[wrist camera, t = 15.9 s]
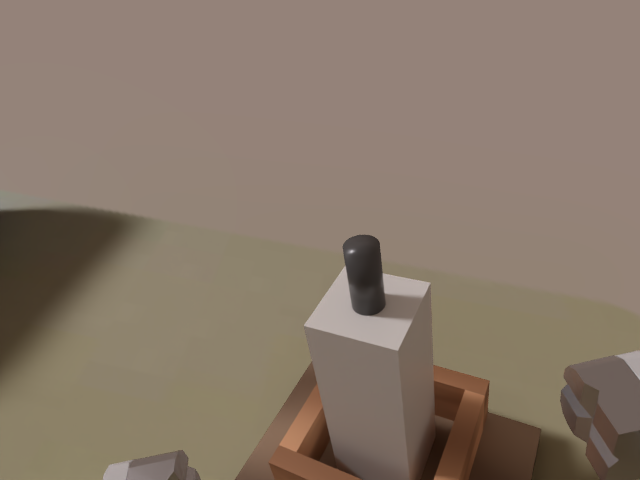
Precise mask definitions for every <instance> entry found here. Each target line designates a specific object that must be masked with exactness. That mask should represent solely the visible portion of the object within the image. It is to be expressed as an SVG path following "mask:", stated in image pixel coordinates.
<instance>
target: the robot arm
mask: <svg viewBox="0 0 640 480" xmlns="http://www.w3.org/2000/svg"><path fill="white" fill-rule="evenodd" d="M564 379H565V380H566V382H567V385H566V386H565V387H564V388H563V389H562V390H561V399H560V402H561V406H562V411H563V414H564V417H565V419H566V421H567V424H568V425H569V427H570V429H571V431H572V432H573V434H574V435H575V436H577V437H578V438H580V439H582V440H583V441H585V442H586V443H587V447H586V454H585V455H586V456H587V458H588V460H589V461H590V463H591V465H592V466H593V468H594V470H595V471H596V473H597V475H598V476H599V478H600V480H637V479H640V351H633V352H629V353H624V354H620V355H616V356H614V355H613V356H608V357H604V358H600V359H596V360H591V361H587V362H583V363H579V364H574V365H570V366H568V367H567V368H566V369H565V371H564ZM103 480H201V479H200V476H199V474H198V473H197V471H196V469H194V468H191V467H189V466H188V457H187V455H186V454H185V453H184V451H183V450H179V451H174V452H169V453H164V454H160V455H155V456H150V457H145V458H140V459H134V460H129V461H125V462H120V463H116V464H111V465H109V467H108V468H107V470H106V472H105V474H104V476H103Z"/></svg>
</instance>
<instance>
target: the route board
mask: <svg viewBox="0 0 640 480" xmlns="http://www.w3.org/2000/svg"><path fill="white" fill-rule="evenodd" d="M433 372H434V403H435V433H436V436H435V439H434V442H433V445H432V448H431V451H430V454H429V456H428V459H427V462H426V465H425V468H424V471H423V473H422V476H421V479H420V480H531V478H532V473H533V468H534V463H535V458H536V453H537V448H538V443H539V438H540V432H541V429H540V428H537V427H534V426H531V425H527V424H524V423H521V422H518V421H515V420H511V419H508V418H505V417H502V416H498V415H495V414H492V413H489V412H488V396H489V381H488V380H485V379H481V378H478V377H474V376H471V375H467V374H463V373H460V372H456V371H453V370H449V369H446V368H442V367H439V366H435V365H433ZM235 480H362V479H360V478H357V477H355V476H352V475H350V474H348V473H345V472H343V471H340V470H338V469H337V465H336V461H335V457H334V452H333V448H332V444H331V439H330V435H329V431H328V427H327V422H326V418H325V414H324V410H323V405H322V401H321V397H320V393H319V388H318V384H317V380H316V376H315V371H314V367H313V363H312V362H311V364H310V365H309V367H308V368H307V370H306V371H305V373H304V374H303V376H302V377H301V379H300V380H299V382H298V383H297V385H296V387H295V388H294V390H293V391H292V393H291V394H290V396H289V397H288V399H287V400H286V402H285V403H284V405H283V407H282V408H281V410H280V411H279V413H278V414H277V416H276V417H275V419H274V420H273V422H272V423H271V425H270V426H269V428H268V430H267V431H266V433H265V434H264V436H263V437H262V439H261V440H260V442H259V443H258V445H257V446H256V448H255V449H254V451H253V453H252V454H251V456H250V457H249V459H248V460H247V462H246V463H245V465H244V466H243V468H242V469H241V471H240V472H239V474H238V476H237V477H236V479H235Z"/></svg>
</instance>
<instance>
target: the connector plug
mask: <svg viewBox="0 0 640 480" xmlns="http://www.w3.org/2000/svg"><path fill="white" fill-rule="evenodd" d="M343 252H344V259H345V265H346V266H345V267H344V268H343V270H342V271H341V273H340V274H339V276H338V277H337V279H336V280H335V281H334V283H333V284H332V286H331V287H330V289H329V290H328V292H327V293H326V294H325V296H324V297H323V299H322V300H321V302H320V303H319V305H318V306H317V307H316V309H315V310H314V312H313V313H312V315H311V316H310V318H309V319H308V320H307V322H306V323H305V325H304V329H305V333H306V337H307V342H308V346H309V350H310V354H311V359H312V363H313V367H314V371H315V376H316V380H317V384H318V388H319V393H320V397H321V401H322V405H323V410H324V414H325V418H326V422H327V427H328V431H329V435H330V439H331V444H332V448H333V452H334V457H335V461H336V465H337V469H338V470H340V471H343V472H345V473H348V474H350V475H352V476H355V477H357V478H360V479H362V480H420V479H421V476H422V473H423V471H424V468H425V465H426V462H427V459H428V456H429V454H430V451H431V448H432V445H433V442H434V439H435V436H436V433H435V403H434V372H433V342H432V312H431V283H429V282H424V281H419V280H414V279H409V278H403V277H398V276H393V275H388V274H383V272H382V262H381V253H380V243H379V241H378V239H376V238H375V237H373V236H370V235H357V236H354V237H351V238H349V239H348V240H346V242H345V243H344V244H343Z"/></svg>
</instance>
